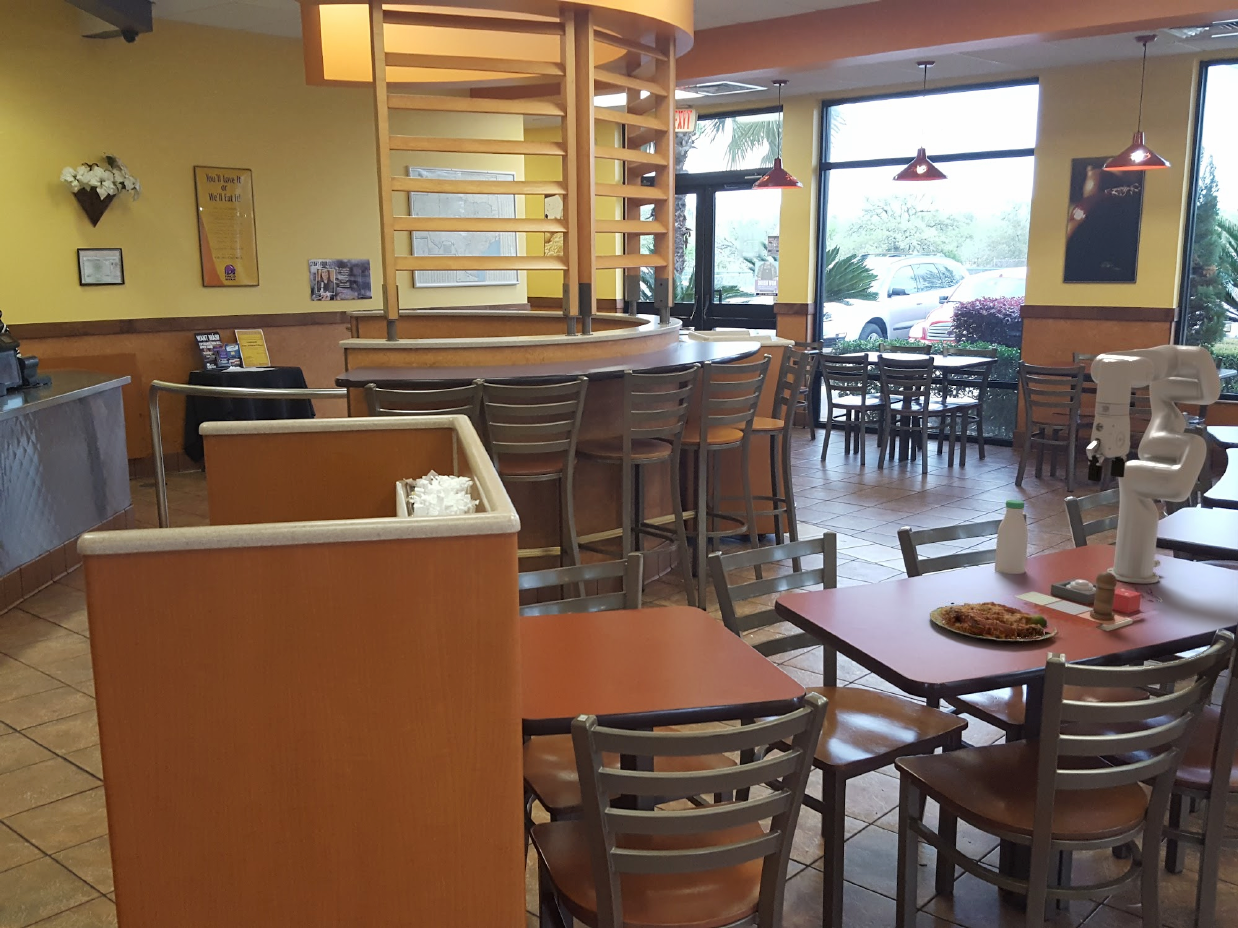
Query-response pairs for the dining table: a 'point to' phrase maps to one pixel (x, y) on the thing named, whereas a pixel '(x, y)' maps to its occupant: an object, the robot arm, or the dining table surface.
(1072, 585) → the dome
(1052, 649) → the dining table surface
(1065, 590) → the dome housing
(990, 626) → the rice dish
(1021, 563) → the milk bottle
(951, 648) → the dining table surface
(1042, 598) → the board
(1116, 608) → the die
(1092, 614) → the wooden pepper mill
